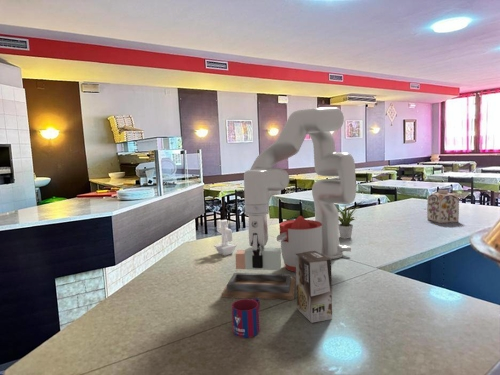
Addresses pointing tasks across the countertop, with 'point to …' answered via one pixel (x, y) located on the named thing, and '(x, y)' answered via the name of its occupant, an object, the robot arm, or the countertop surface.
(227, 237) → the figurine
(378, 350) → the countertop surface
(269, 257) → the white bar
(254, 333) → the mug
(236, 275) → the jig
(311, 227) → the citrus juicer
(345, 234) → the house plant
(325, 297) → the coffee box
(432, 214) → the decorative jar
